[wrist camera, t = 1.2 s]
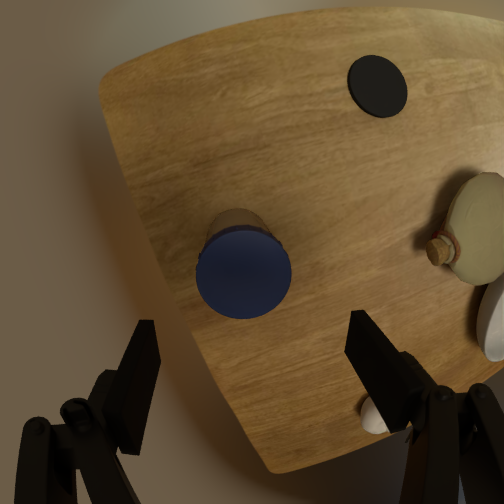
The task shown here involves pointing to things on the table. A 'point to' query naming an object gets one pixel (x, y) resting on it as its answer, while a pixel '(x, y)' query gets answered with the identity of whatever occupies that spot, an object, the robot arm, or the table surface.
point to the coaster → (377, 86)
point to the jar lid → (243, 272)
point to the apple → (372, 418)
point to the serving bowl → (492, 321)
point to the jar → (234, 221)
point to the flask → (473, 231)
